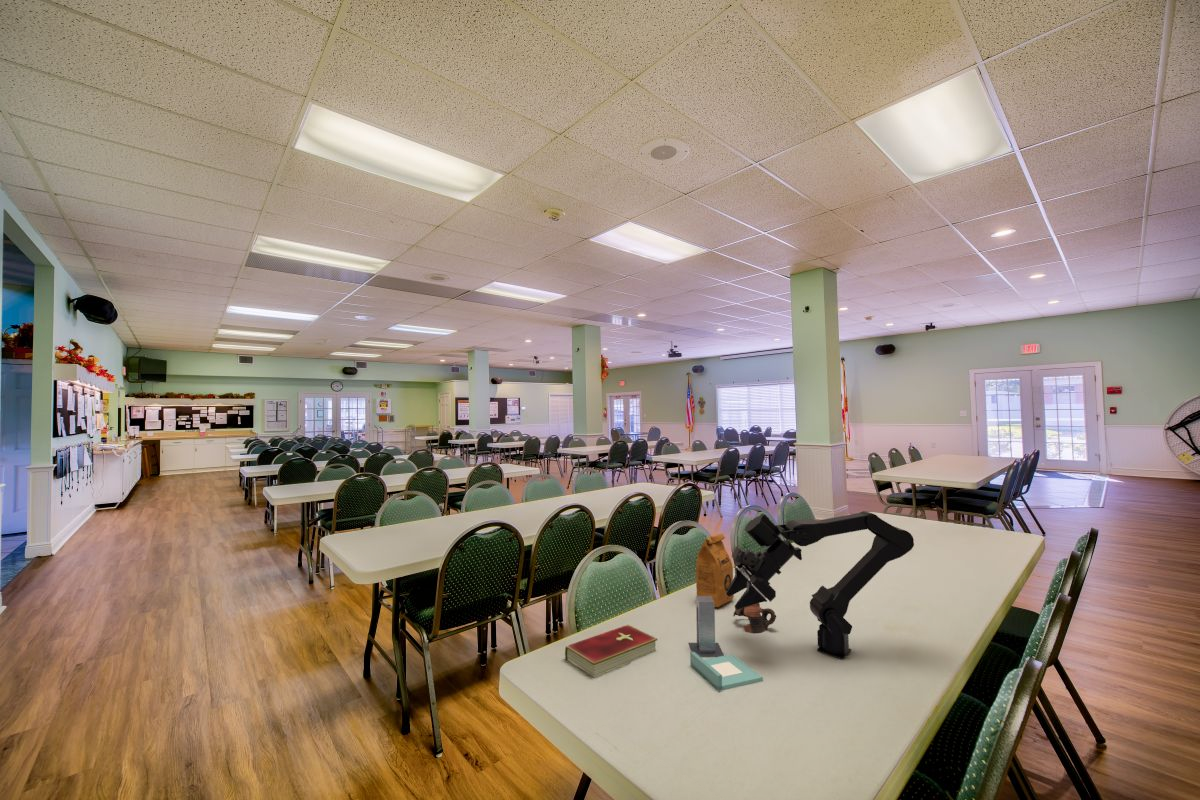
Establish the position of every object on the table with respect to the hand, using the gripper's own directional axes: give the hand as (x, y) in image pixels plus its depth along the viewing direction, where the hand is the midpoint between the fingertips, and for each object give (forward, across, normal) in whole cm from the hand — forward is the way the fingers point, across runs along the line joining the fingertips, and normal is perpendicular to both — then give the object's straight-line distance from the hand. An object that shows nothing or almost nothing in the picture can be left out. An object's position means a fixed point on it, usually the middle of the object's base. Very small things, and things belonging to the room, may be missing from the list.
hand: (731, 601), depth 129 cm
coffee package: (+7, -35, +11) cm, 37 cm away
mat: (+14, 0, +4) cm, 15 cm away
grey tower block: (+14, 0, +4) cm, 14 cm away
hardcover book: (+32, +3, -13) cm, 34 cm away
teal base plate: (+12, +12, +6) cm, 18 cm away
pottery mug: (+2, -15, +16) cm, 22 cm away
